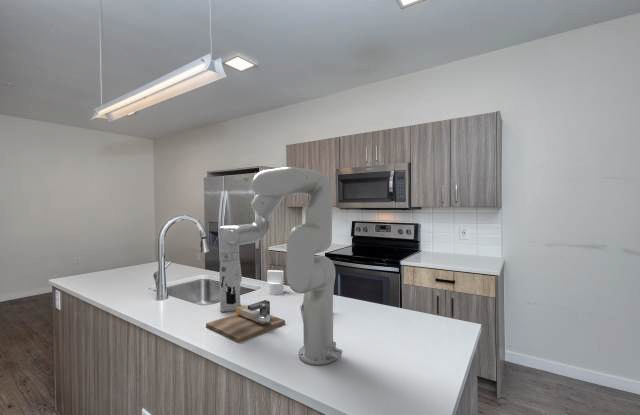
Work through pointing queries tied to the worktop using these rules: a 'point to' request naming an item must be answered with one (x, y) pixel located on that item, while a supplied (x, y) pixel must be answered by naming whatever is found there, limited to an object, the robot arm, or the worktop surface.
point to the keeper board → (244, 325)
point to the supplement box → (229, 307)
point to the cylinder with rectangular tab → (275, 282)
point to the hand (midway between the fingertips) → (231, 303)
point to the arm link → (255, 314)
